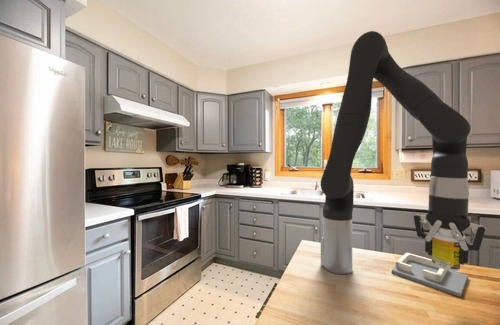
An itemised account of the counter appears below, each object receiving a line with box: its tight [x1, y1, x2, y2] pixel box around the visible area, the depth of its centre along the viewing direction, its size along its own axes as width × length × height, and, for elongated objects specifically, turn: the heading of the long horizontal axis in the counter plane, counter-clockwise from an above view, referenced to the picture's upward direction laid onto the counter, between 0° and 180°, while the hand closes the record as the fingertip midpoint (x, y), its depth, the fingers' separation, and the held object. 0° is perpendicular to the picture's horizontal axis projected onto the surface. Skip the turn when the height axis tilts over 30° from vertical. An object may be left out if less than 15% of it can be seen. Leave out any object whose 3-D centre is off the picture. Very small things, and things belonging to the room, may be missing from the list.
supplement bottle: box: [431, 228, 461, 272], centre depth 56 cm, size 6×6×10 cm
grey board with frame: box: [391, 252, 469, 298], centre depth 67 cm, size 16×14×3 cm
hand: (445, 258), depth 56 cm, fingers closed on supplement bottle, 5 cm apart
